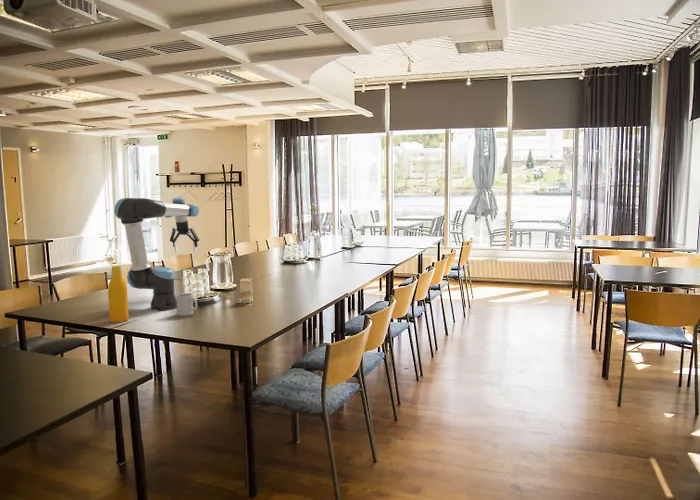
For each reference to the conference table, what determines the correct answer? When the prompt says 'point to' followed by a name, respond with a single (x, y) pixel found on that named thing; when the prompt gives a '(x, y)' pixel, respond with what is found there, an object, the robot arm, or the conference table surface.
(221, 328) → the conference table surface
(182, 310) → the mug
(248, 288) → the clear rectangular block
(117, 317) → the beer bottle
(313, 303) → the conference table surface
